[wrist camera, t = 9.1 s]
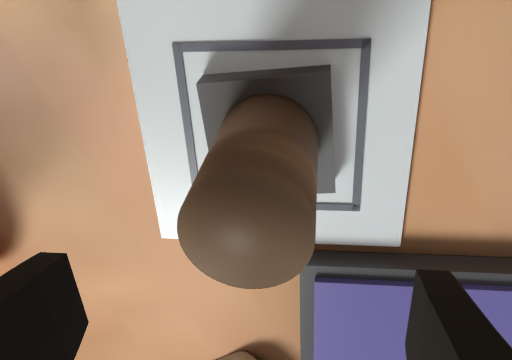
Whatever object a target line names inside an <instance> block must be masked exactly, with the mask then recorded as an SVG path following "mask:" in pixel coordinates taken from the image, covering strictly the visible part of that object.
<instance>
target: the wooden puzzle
mask: <svg viewBox="0 0 512 360" xmlns="http://www.w3.org/2000/svg"><path fill="white" fill-rule="evenodd" d="M218 360H257V359H256V358H255V357H253V356H252V355H251V354H249V353H247V352H245V351H238V352H234V353H232V354H229V355H227V356H224V357H222V358H220V359H218Z"/></svg>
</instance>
